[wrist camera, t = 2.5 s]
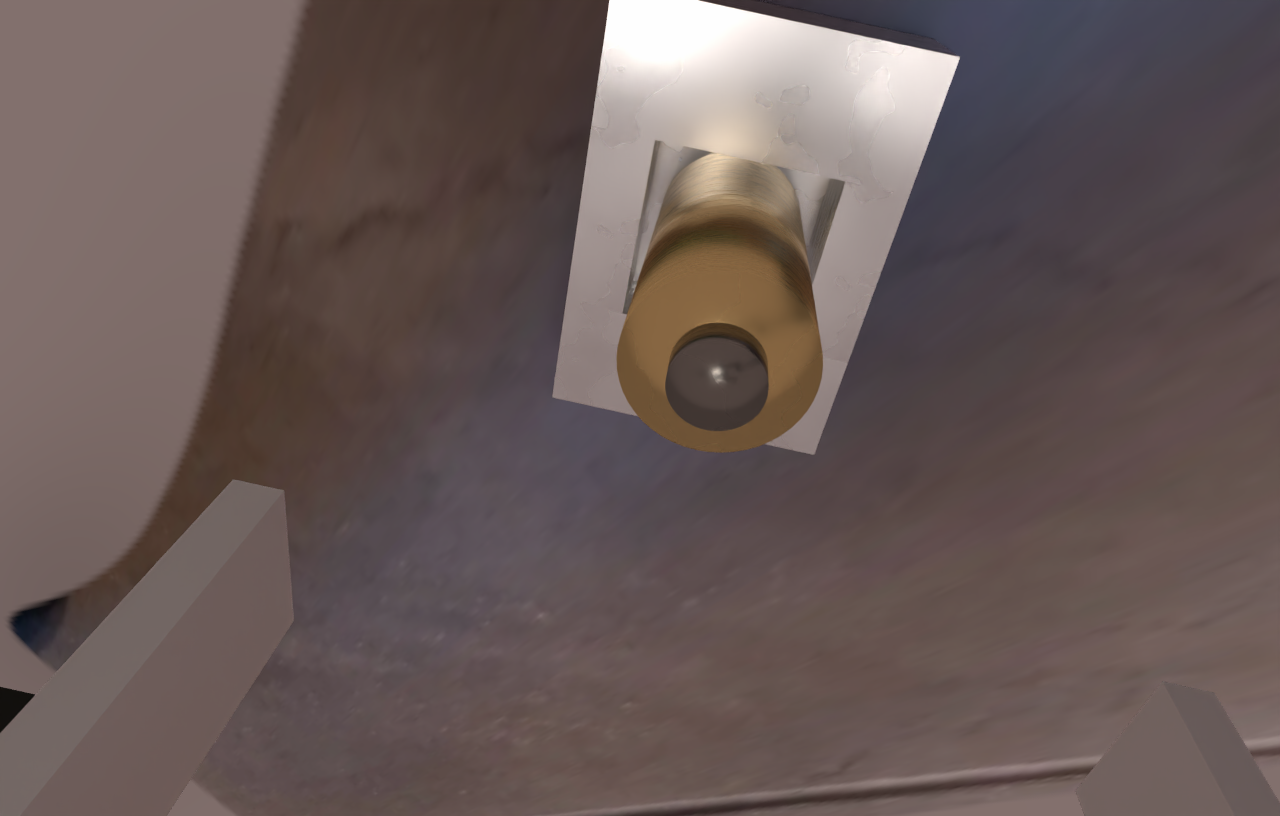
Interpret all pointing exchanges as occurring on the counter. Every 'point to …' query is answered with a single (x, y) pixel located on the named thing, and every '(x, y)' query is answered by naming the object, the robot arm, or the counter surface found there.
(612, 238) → the housing
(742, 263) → the brass capped cylinder
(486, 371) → the counter surface
